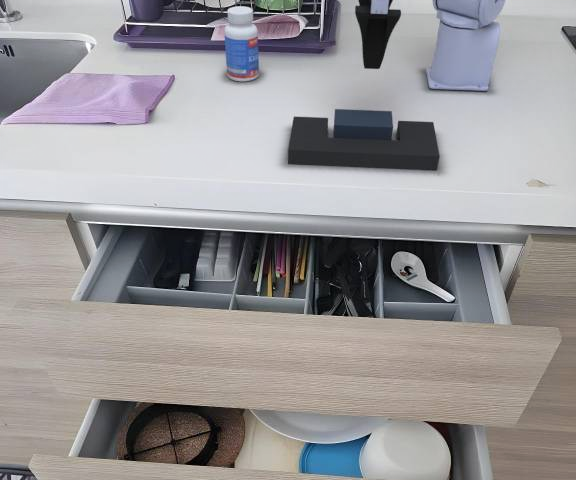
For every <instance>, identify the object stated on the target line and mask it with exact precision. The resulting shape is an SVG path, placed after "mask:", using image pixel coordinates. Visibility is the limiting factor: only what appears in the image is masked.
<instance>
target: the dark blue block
mask: <svg viewBox="0 0 576 480" xmlns="http://www.w3.org/2000/svg"><path fill="white" fill-rule="evenodd" d="M333 116H334V117H333V134H332V138H354V139H378V140H393V130H394V122H393V121H394V120H393V111H391V110H374V109H373V110H371V109H369V110H367V109H345V108H334V115H333Z"/></svg>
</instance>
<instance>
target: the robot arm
mask: <svg viewBox="0 0 576 480" xmlns="http://www.w3.org/2000/svg"><path fill="white" fill-rule="evenodd" d="M357 1H358V5H355V7H354V13H355V14H354V15H355V18H356V21H357V23H358V26H359V30H360V37H361V44H362V45H361V47H362V63H363V68H364V69H366V70H379V69H381V66H382V64H383V61H384V57H385V54H386V51H387V47H388V44H389V41H390V38H391V35H392V33H393V31H394V29H395V27H396V26H397V24H398V22H399V21H400V19H401V16H402V10H401V9H395V8H394V9H393V8H391V6H392V3H393V1H394V0H357ZM505 4H506V0H432V5H433V8H434V10H435V11H436V16H435V17H436V19H438V20H439V24H438V29H437V36H436V41H435V47H434V52H433V57H432V63H431V64H432V65H431V66H429V67H426V69H425V73H426V78H427V83H428V88H429V89H432V90H453V91H455V90H456V91H477V92H478V91H480V92H481V91H482V92H487V91H488V90H489V83H490V79H491V75H492V72H493V68H494V65H495V60H496V56H497V51H498V47H499V43H500V35H501V27H500V23H499V22H497V21H495V20H496V19H498V17H499V15H500V14H501V12H502V10H503V8H504V6H505ZM390 8H391V9H390Z"/></svg>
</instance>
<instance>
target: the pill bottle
mask: <svg viewBox="0 0 576 480" xmlns="http://www.w3.org/2000/svg"><path fill="white" fill-rule="evenodd" d="M227 21H228V22H229V23H228V24H226V25H225V27H224V30H223V33H224V48H225V65H226V75H227V77H228V79H230V80H232V81H236V82H251V81H253V80H255V79H257V78H258V77H259V75H260V66H259V65H260V63H259V62H260V61H259V60H260V59H259V31H258V27H257V26H256V24H254V23H253V21H254V10H253V8H252V7H250V6H243V5H241V6H238V5H237V6H232V7H229V8H228V9H227Z"/></svg>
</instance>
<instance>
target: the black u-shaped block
mask: <svg viewBox="0 0 576 480" xmlns="http://www.w3.org/2000/svg"><path fill="white" fill-rule="evenodd" d="M328 131H329V117H317V116H316V117H315V116H295V115H294V116H293V120H292V125H291V132H290V137H289V142H288V148H287V164H288V165H309V166H329V167H331V166H332V167H349V168H350V167H352V168H374V169H375V168H376V169H377V168H378V169H396V170H397V169H399V170H418V171H419V170H420V171H438V166H439V162H440V151H439V145H438V140H437V134H436V129H435V123H434V121H420V120H419V121H417V120H398V121H397V126H396V134H395V136H396V139H391V140H378V139H354V138H333V137H328V133H329V132H328Z"/></svg>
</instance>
